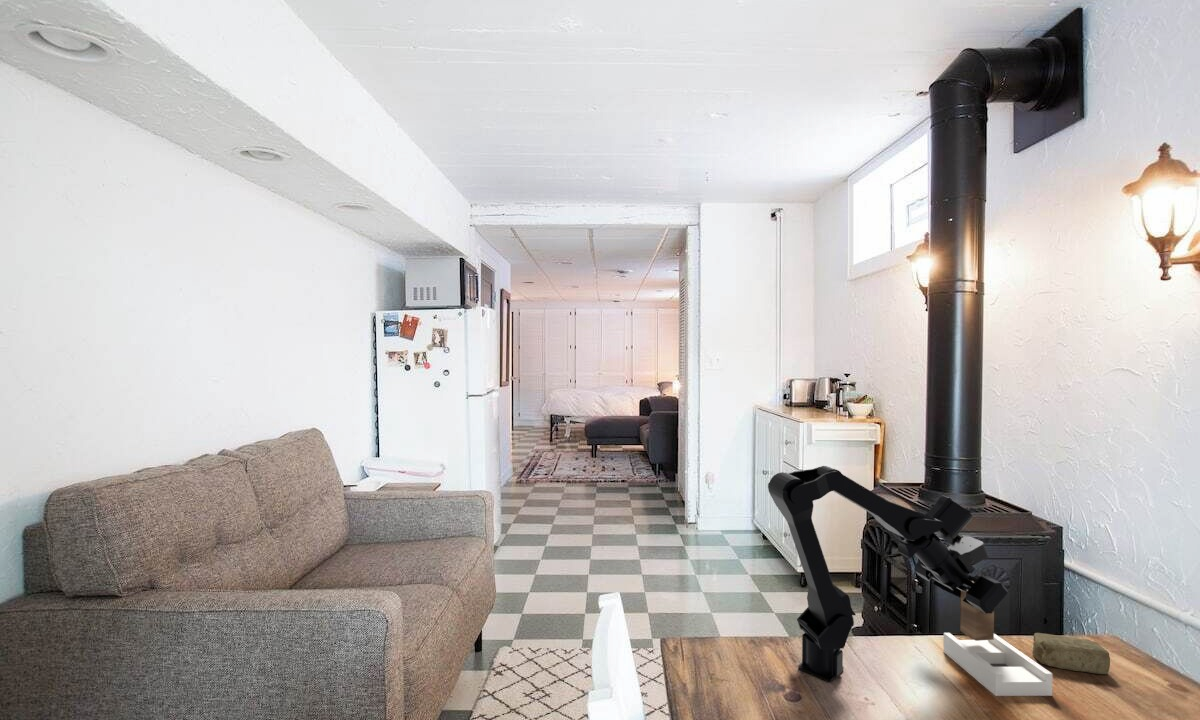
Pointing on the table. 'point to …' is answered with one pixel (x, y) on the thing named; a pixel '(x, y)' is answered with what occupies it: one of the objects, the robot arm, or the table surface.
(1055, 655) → the stone block
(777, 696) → the table surface
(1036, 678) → the walled channel
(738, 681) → the table surface
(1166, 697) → the table surface
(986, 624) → the walnut block
